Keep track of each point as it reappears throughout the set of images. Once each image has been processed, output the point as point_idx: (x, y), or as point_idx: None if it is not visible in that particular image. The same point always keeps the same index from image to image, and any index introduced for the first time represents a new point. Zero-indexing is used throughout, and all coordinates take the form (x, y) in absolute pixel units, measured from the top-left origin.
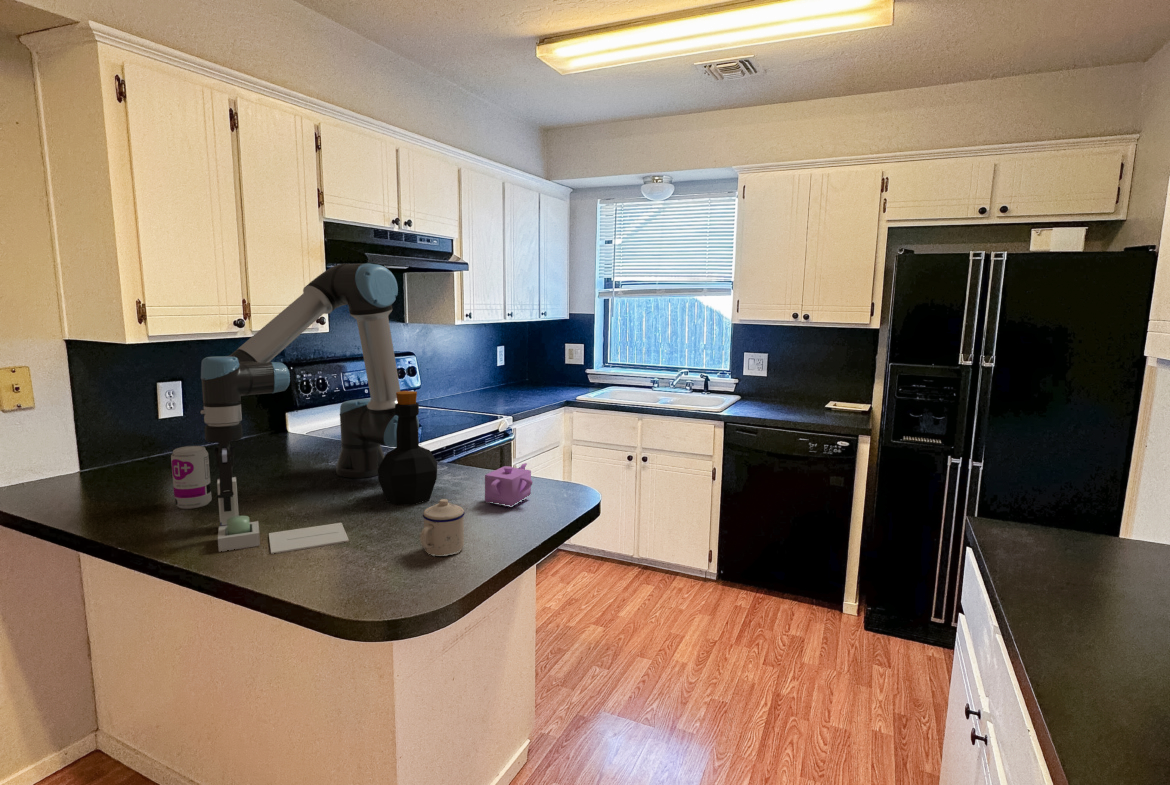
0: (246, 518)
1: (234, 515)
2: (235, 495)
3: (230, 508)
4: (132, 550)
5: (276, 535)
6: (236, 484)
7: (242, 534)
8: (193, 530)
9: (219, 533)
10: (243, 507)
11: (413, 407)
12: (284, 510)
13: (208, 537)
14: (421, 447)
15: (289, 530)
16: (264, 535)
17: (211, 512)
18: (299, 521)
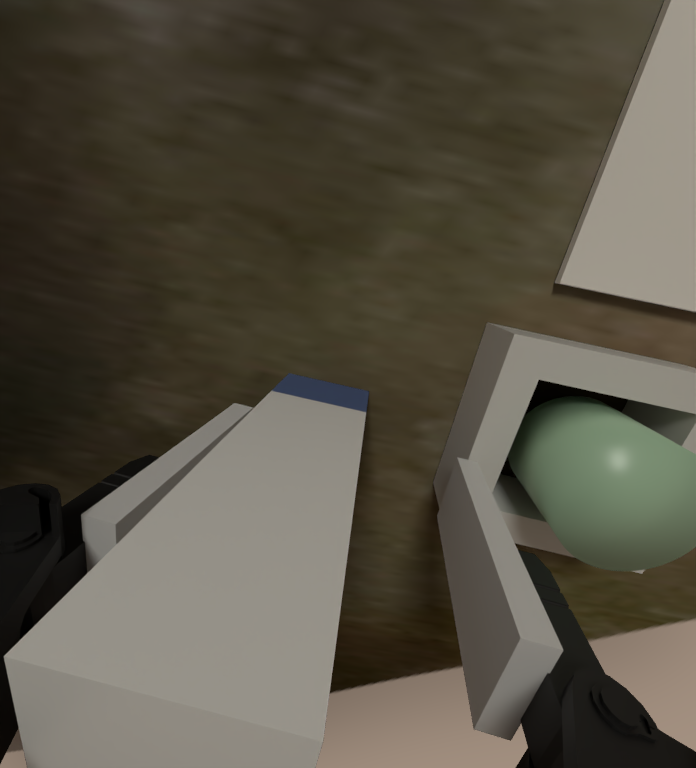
0: (674, 465)
1: (490, 494)
2: (347, 534)
3: (549, 578)
4: (351, 687)
5: (636, 253)
6: (60, 498)
7: None
8: None
9: (560, 548)
10: (25, 293)
11: None
12: (166, 76)
13: (380, 509)
14: None
15: (617, 151)
16: (542, 305)
17: (55, 431)
18: (450, 27)
